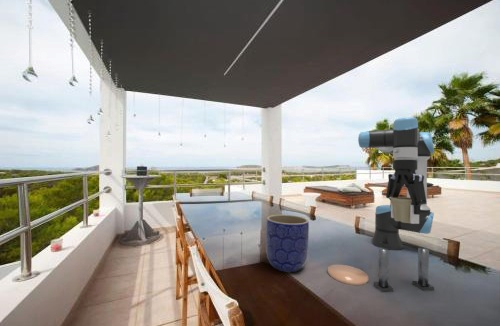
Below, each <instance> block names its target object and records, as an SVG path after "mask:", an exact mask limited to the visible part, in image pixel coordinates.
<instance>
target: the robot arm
mask: <svg viewBox="0 0 500 326" xmlns="http://www.w3.org/2000/svg"><path fill="white" fill-rule="evenodd" d="M418 123H419V121H418V119H417V118H416V117H400V118H397V119H394V121H393V127H392V129H391V128H390V129H383V130H382V129H380V130H366V131H362V132H361V131H360V133H359V134H358V140H357V141H358V142H357V143H358V147H360V148H362V149H377V150H379V151H380V152H383V153H386V154H390V155H391V154H392V158H393V159H394V160H392V170H394V173H389V174H388V175H387V177H388V183H387V188H386V193H385V194H386V195H385V198H387V199H389V201H390V203H389V204H385V205H384V204H383V205H382V204H381V205H377V206H376V207H375V212H374V213H375V214H374V216H375V218H374V219H375V222H374V223H375V225H374V226H375V227H374V229H375V230H374V233H373V235H372V238H371V244H373V246H376V247H378V248H386V249H388V250H392V251H399V250H403V243H402V239H401V237H400V231H407V232H413V233H417V234H424V235H429V234H430V233H431V231H432V227H433V220H434V216H435V214H434V212H432V211H431V208H430V207H429V206H428V205H427V200H428V160H430V158H432V155H433V154H435V149H434V147H435V146H434V144H433V143H434V141H433V137H432V134H431V132H427V131H425V132H424V131H421V132H420V131H419V124H418ZM404 186H405V187H406V197H408V198H411V200H412V203H411V205H410V223H403V222H401V221H395V220H394V214H393V207H392V202H391V199H390V198H389V197H400V194H401V191H402V190H403V187H404ZM416 200H417V201H416ZM399 230H400V231H399Z"/></svg>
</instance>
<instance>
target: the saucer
mask: <svg viewBox="0 0 500 326" xmlns="http://www.w3.org/2000/svg"><path fill="white" fill-rule="evenodd" d="M327 275H328V276H329V277H330V278H332V279H333V280H335V281H337V282H339V283H343V284H346V285H351V286H364V285H365V284H367V283H369V275H368V274H367V273H366V272H365V271H363V270H361V269H359V268H357V267H355V266H352V265H351V266H350V265H346V264H332V265H330V266H328V268H327Z"/></svg>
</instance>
